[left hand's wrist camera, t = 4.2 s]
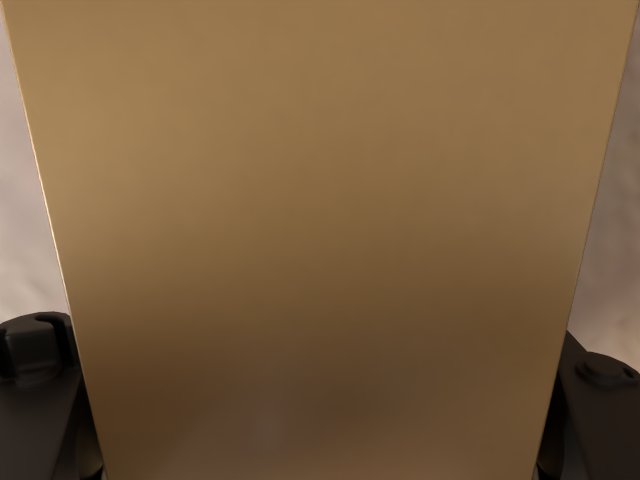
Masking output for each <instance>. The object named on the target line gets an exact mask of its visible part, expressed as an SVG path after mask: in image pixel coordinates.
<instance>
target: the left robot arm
mask: <svg viewBox="0 0 640 480" xmlns="http://www.w3.org/2000/svg"><path fill="white" fill-rule="evenodd" d="M0 480H107V478H106V474H105V469H104V465H103V460H102V456H101V451H100V447H99V443H98V438H97V434H96V429H95V425H94V420H93V416H92V411H91V407H90V402H89V398H88V394H87V389H86V385H85V380H84V376H83V371H82V367H81V362H80V358H79V353H78V349H77V345H76V340H75V336H74V331H73V327H72V322H71V318H70V316H69V315H67V314H66V313H60V312H54V311H53V312H37V313H33V314H28V315H23V316H19V317H17V318H14V319H11V320H8V321H6V322H3V323H1V324H0ZM533 480H640V374H639V373H638V372H637V371H636V370H634V369H633V368H631V367H630V366H628V365H627V364H625V363H624V362H621V361H619V360H617V359H614V358H612V357H610V356H606V355H602V354H598V353H594V352H587V351H586V350H585V349H584V348H583V347H582V345H581V344H580V343H579V342H578V341H577V340H576V339H575V338H574V337H573V336H572V335H571V334H570V333H569V332H568V331H567V329H566V334H565V338H564V343H563V347H562V352H561V356H560V360H559V365H558V369H557V374H556V378H555V383H554V387H553V392H552V396H551V401H550V405H549V410H548V414H547V419H546V423H545V428H544V432H543V436H542V441H541V445H540V450H539V454H538V459H537V463H536V468H535V472H534V477H533Z"/></svg>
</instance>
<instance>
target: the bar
mask: <svg viewBox="0 0 640 480" xmlns="http://www.w3.org/2000/svg"><path fill="white" fill-rule="evenodd" d="M639 3H640V0H0V6H1V10H2V15H3V19H4V24H5V28H6V33H7V37H8V41H9V46H10V50H11V55H12V59H13V64H14V68H15V73H16V77H17V82H18V86H19V90H20V95H21V99H22V104H23V108H24V113H25V117H26V122H27V126H28V131H29V135H30V139H31V144H32V148H33V153H34V157H35V162H36V166H37V171H38V175H39V180H40V184H41V189H42V193H43V197H44V202H45V206H46V211H47V215H48V220H49V224H50V229H51V233H52V238H53V242H54V246H55V251H56V255H57V260H58V264H59V269H60V273H61V278H62V282H63V287H64V291H65V295H66V300H67V304H68V309H69V313H70V318H71V322H72V327H73V331H74V336H75V340H76V345H77V349H78V353H79V358H80V362H81V367H82V371H83V376H84V380H85V385H86V389H87V394H88V398H89V402H90V407H91V411H92V416H93V420H94V425H95V429H96V434H97V438H98V443H99V447H100V451H101V456H102V460H103V465H104V469H105V474H106V478H107V480H533V477H534V472H535V468H536V463H537V459H538V454H539V450H540V445H541V441H542V436H543V432H544V428H545V423H546V419H547V414H548V410H549V405H550V401H551V396H552V392H553V387H554V383H555V378H556V374H557V369H558V365H559V360H560V356H561V352H562V347H563V343H564V338H565V334H566V329H567V325H568V320H569V316H570V311H571V307H572V302H573V298H574V293H575V289H576V284H577V280H578V276H579V271H580V267H581V262H582V258H583V253H584V249H585V244H586V240H587V235H588V231H589V226H590V222H591V217H592V213H593V208H594V204H595V200H596V195H597V191H598V186H599V182H600V177H601V173H602V168H603V164H604V159H605V155H606V150H607V146H608V141H609V137H610V133H611V128H612V124H613V119H614V115H615V110H616V106H617V101H618V97H619V92H620V88H621V83H622V79H623V74H624V70H625V65H626V61H627V57H628V52H629V48H630V43H631V39H632V34H633V30H634V25H635V21H636V16H637V12H638V7H639Z"/></svg>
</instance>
